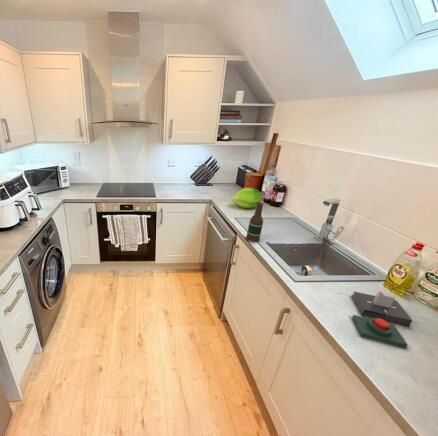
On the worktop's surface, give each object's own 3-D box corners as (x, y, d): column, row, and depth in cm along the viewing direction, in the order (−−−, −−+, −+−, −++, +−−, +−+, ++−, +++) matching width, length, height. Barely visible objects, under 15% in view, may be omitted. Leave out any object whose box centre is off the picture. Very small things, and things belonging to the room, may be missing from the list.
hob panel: (393, 306, 96) (396, 300, 94) (408, 326, 86) (412, 320, 85) (351, 296, 100) (354, 291, 99) (361, 315, 91) (364, 309, 90)
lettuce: (229, 211, 204) (227, 192, 207) (259, 209, 202) (256, 190, 205) (235, 207, 186) (233, 186, 188) (268, 204, 184) (265, 183, 187)
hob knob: (387, 304, 92) (393, 294, 90) (389, 308, 91) (395, 297, 88) (372, 301, 94) (377, 291, 92) (374, 304, 92) (379, 294, 90)
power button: (384, 323, 84) (386, 319, 83) (389, 331, 81) (391, 327, 80) (371, 320, 85) (373, 316, 84) (376, 328, 82) (378, 324, 81)
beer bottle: (257, 236, 150) (265, 201, 141) (261, 242, 143) (269, 205, 134) (245, 235, 152) (251, 200, 142) (247, 241, 145) (254, 205, 135)
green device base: (392, 327, 86) (396, 320, 84) (405, 348, 78) (410, 341, 77) (351, 317, 90) (355, 311, 89) (361, 336, 82) (364, 329, 81)
